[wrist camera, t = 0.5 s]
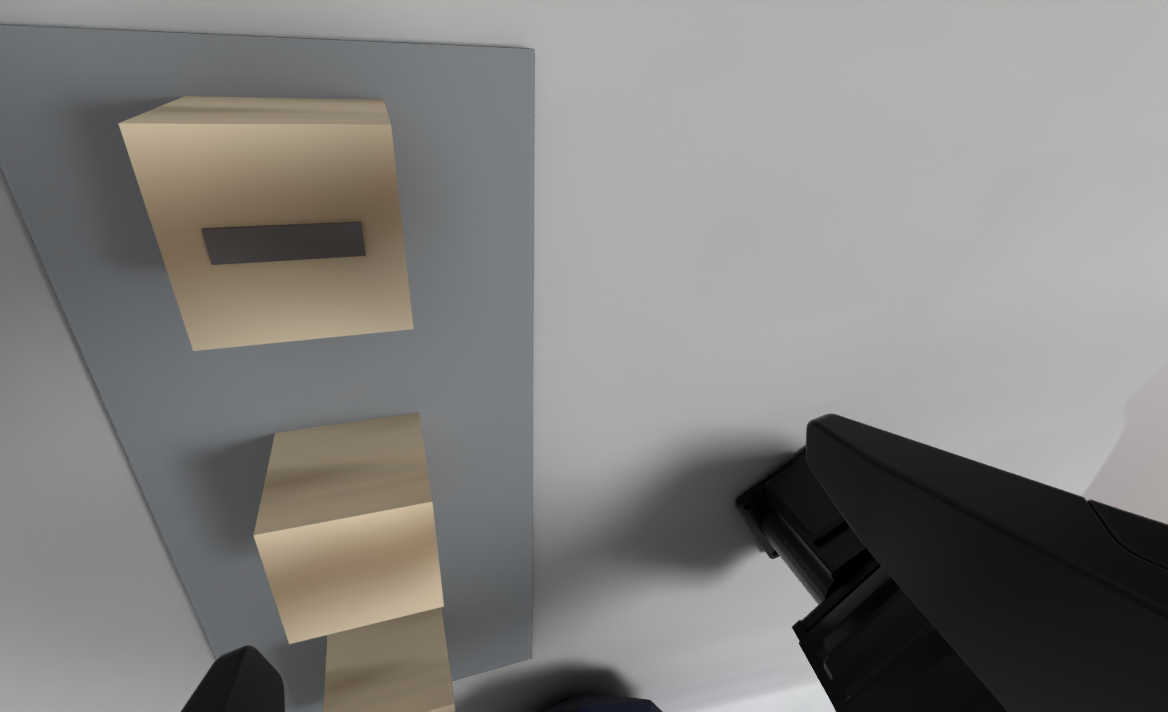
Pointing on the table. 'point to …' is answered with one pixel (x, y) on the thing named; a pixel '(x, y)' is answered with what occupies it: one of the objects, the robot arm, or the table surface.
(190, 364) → the mat
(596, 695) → the decorative orb
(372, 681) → the marked block
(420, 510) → the plain block
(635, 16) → the table surface
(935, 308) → the table surface
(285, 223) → the marked block
